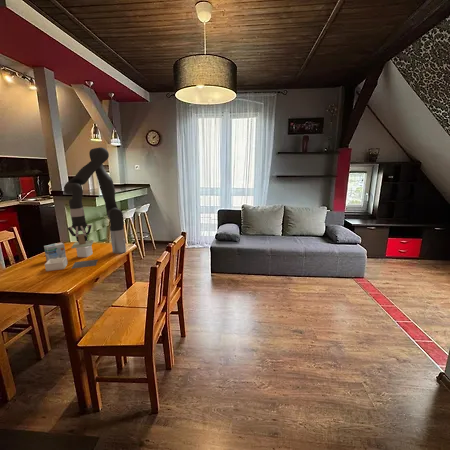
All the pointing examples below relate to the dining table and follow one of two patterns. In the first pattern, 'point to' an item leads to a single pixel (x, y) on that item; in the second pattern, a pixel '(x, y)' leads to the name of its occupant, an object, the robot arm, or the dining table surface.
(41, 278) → the dining table surface
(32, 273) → the dining table surface
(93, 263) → the mat
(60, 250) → the light bulb box
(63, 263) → the white open box
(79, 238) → the lid
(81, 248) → the medicine bottle
